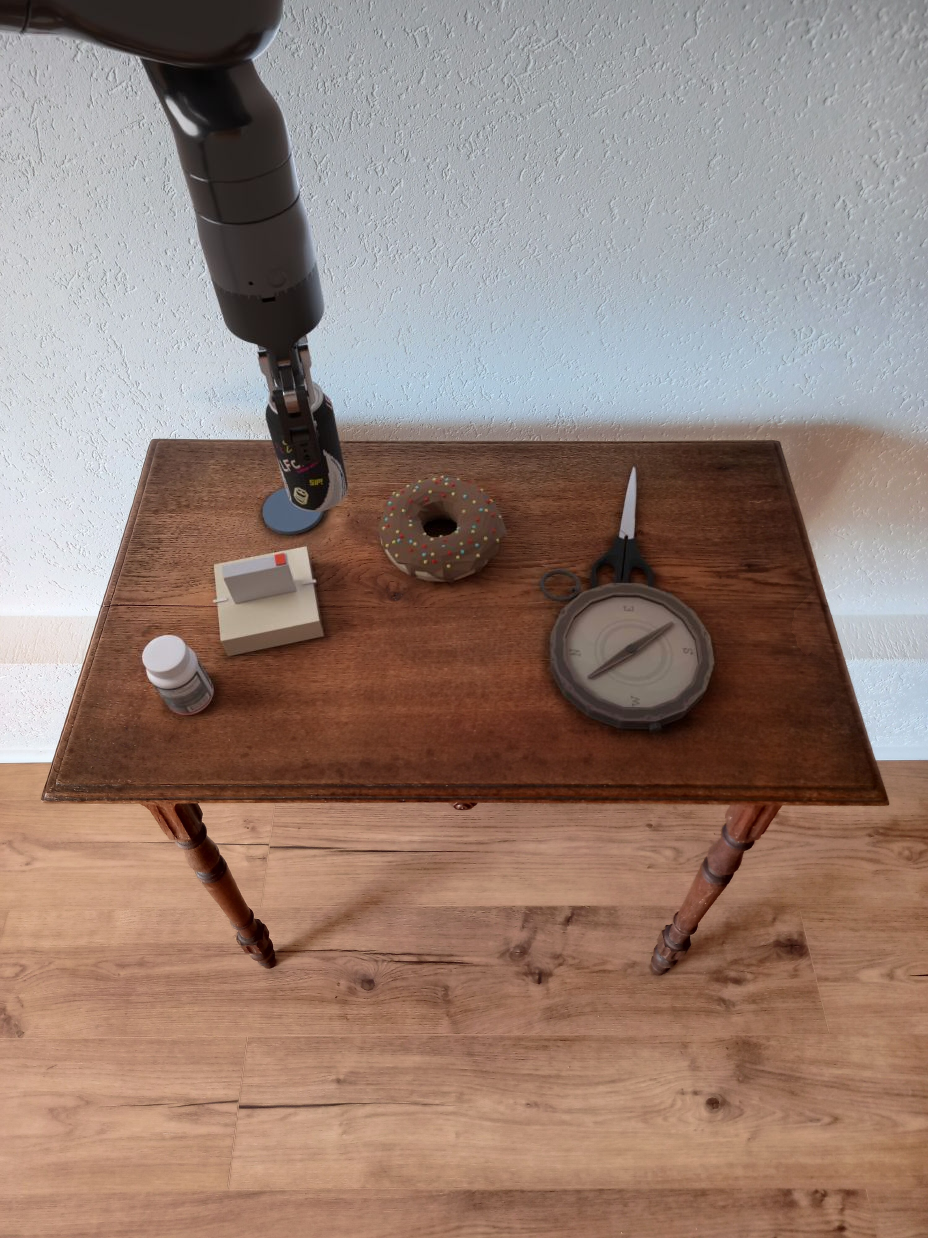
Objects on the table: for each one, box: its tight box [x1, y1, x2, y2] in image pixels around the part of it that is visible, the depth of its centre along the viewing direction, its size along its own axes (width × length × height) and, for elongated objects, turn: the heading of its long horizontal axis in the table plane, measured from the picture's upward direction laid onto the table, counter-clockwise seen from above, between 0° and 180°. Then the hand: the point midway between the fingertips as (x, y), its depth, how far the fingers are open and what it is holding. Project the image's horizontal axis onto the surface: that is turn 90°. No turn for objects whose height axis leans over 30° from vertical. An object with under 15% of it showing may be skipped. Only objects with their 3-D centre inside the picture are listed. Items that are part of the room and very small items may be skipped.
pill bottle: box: [141, 634, 215, 716], centre depth 78 cm, size 5×5×8 cm
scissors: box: [590, 466, 655, 589], centre depth 91 cm, size 7×1×20 cm
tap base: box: [212, 545, 325, 657], centre depth 85 cm, size 11×10×3 cm
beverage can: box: [265, 379, 349, 512], centre depth 72 cm, size 6×6×12 cm
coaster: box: [262, 487, 324, 536], centre depth 94 cm, size 7×7×1 cm
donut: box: [377, 475, 509, 584], centre depth 89 cm, size 14×14×5 cm
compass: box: [538, 568, 716, 734], centre depth 82 cm, size 20×16×2 cm
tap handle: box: [222, 553, 297, 603], centre depth 82 cm, size 6×2×5 cm, turn 104°
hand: (304, 435), depth 71 cm, fingers closed on beverage can, 5 cm apart
